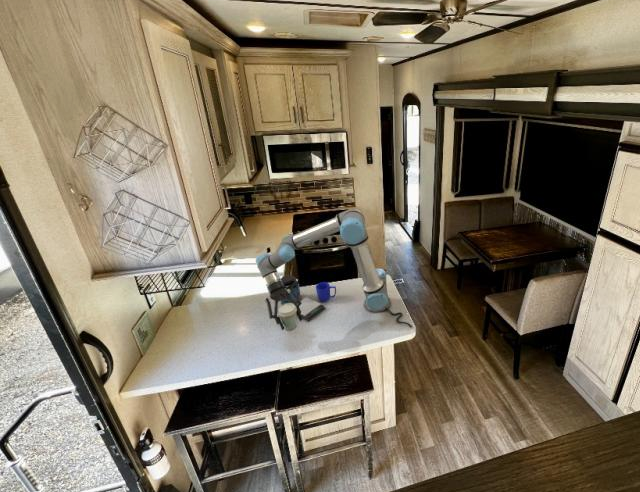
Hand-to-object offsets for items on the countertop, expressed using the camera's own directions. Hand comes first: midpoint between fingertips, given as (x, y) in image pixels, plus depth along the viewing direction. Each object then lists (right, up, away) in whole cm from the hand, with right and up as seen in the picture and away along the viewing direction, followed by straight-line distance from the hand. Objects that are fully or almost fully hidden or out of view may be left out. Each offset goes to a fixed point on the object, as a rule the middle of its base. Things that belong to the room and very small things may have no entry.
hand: (292, 324), depth 159 cm
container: (-15, +1, +43) cm, 45 cm away
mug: (+7, +2, +43) cm, 44 cm away
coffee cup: (-2, -3, +4) cm, 5 cm away
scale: (-2, -2, +33) cm, 34 cm away
